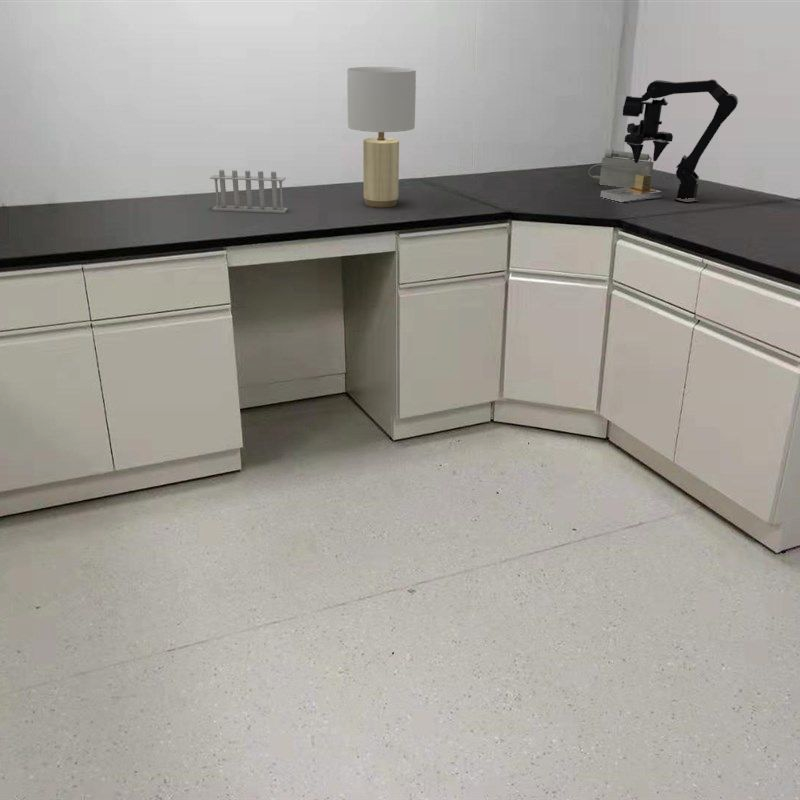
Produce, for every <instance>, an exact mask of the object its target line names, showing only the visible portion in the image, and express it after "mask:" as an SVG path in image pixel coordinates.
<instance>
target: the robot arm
mask: <svg viewBox="0 0 800 800" xmlns="http://www.w3.org/2000/svg"><path fill="white" fill-rule="evenodd" d="M692 93H693V94H695V93H708V94H710V96H711V97H712V98H713V99H714V100H715V102H716V103H718V105H717V108H716V109H715V112H714V115H713V117H712V119H711V120H710V122H709V124H708V126H707V127H706V129H705V130H704V132H703V134H702V135H701V137H700V138H699V140H698V142H696V145H695V146H694V147H693V149H692V151H691V152H690V153H689V154H688V156H687V155H686V154H684V155H683V156H682V158H681V160H680V162H679V163H678V164H677V165H676V171H675V174H676V175H675V176H676V178H677V179H678V180H680V182H679V186H678V189H677V195H676V198H681V199H685V198H687V199H688V198H695V197H696V198H697V192H698V187H699V184H698V183H697V182H698V181H699V179H700V176H699V175H698V173H697V172H696V171H695V170H696V168H697V166H698V163H699V160H700V159H701V156H702V155H703V154H704V152H705V151H706V149H707V147H708V146H709V144H710V142H711V141H712V139H713V138H714V136H715V135H716V133H717V132H718V131H719V129H720V128H721V126H722V124H723V123H724V122H725V121H726V120H727V119H728V117H730V115H731V114H732V113H733V112H734V111H735V109H736V108H737V106H738V103H739V100H738V96H736V95H735V94H733V93H729V92H728V91H727V90H726V89H725V88H723V86H721V85H720V84H719V82H718V81H717V80H716V79H707V80H693V81H680V82H679V81H678V82H677V81H669V80H661V79H659V80H658V79H657V80H656V79H655V80H653V81H652V82H650V83H649V84H648V85H647V87H646V92H645V93H644V94H643V95H641V96H640V97H639V96H631V95H627V96H626V97H625V101H624V104H623V107H622V116H623V117H636V118H637V117H638V118H639V117H640V115H643V119H641V120H640V121H639V124H635V122H632V123H628V124H627V127H626V132H627V134H625V137H624V143H626V144H627V145H628V146H630V149H631V151H632V152H631V153H633V157H634V159H633V160H634V162H635V163H638V161H639V158H640V155H641V154H642V151H643V149H644V144H643V143H644V142H645V141H647V142H648V141H652V143H653V145H654V147H653V156H652V160H653V161H652V162H657V161H658V159H659V157H660V156H661V154H662V153H663V151H664V150H665V148H667V146H668V145H669V144H670V142H673V140H674V139H673V137H674V135H673V133H672V132H667V131H659V128H660V125H663V121H662V120H661V114H662V107H663V106H665V107H666V106H667V105H668V103H669V102H668V101H667V100H666V98H665V97H667V96H670V95H679V94H692ZM659 98H662V99H659ZM650 99H652V101H648V100H650Z"/></svg>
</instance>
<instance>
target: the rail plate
mask: <svg viewBox="0 0 800 800" xmlns="http://www.w3.org/2000/svg"><path fill="white" fill-rule="evenodd" d="M661 195H662V196H663V190H658V189H654V188H650V190H648V191H639V190H635V189H634V187H629V188H615V189H614V188H612V189H606V190H605V189H604V190H601V191H600V197H603V198H602V199H604V198H607V199H611V200H615V201H619V202H624V201H630V200H636V199H642V198H649V197H655V196H661ZM607 199H606V200H607Z"/></svg>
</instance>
